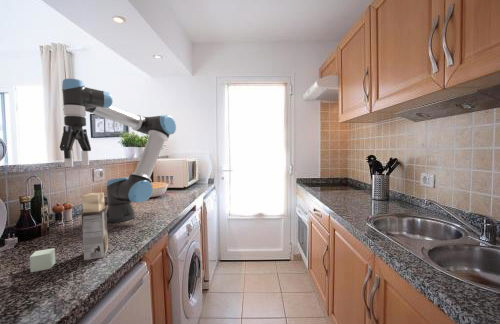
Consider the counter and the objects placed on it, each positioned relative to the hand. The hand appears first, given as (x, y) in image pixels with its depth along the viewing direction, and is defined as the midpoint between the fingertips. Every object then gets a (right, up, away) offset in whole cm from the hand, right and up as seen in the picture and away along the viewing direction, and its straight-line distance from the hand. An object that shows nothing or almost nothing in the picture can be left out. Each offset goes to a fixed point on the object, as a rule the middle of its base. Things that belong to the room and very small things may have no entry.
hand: (77, 166), depth 103 cm
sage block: (+7, -33, -25) cm, 42 cm away
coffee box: (+18, -32, -16) cm, 40 cm away
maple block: (+18, -16, -16) cm, 29 cm away
